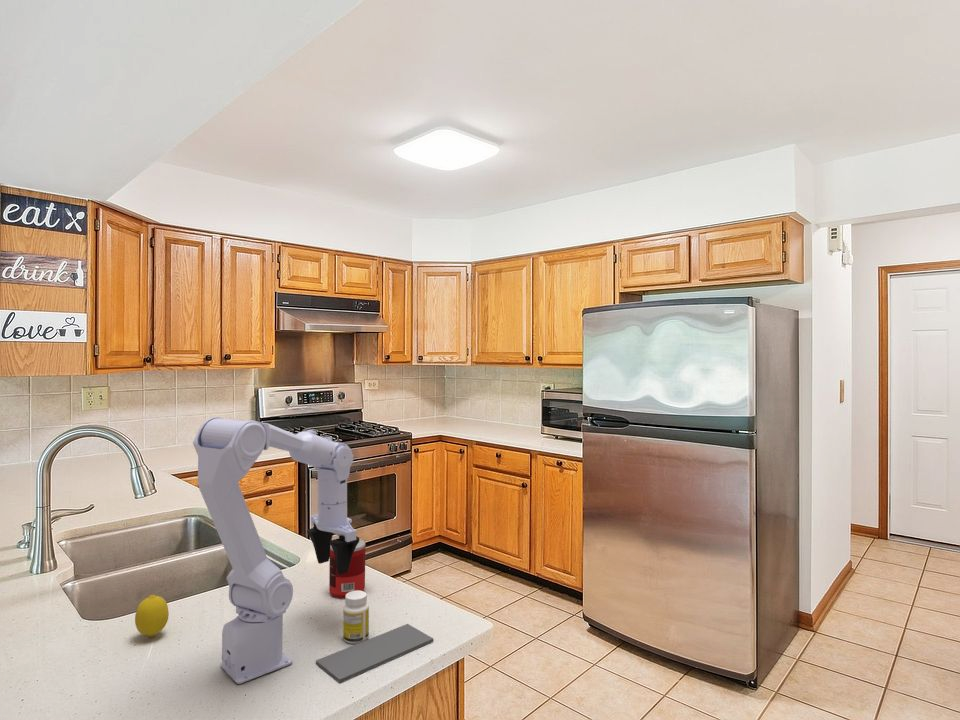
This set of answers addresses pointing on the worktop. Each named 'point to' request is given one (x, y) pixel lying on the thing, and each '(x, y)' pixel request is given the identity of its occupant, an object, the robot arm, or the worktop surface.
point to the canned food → (348, 573)
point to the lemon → (151, 615)
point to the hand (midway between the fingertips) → (332, 567)
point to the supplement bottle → (355, 617)
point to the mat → (373, 652)
